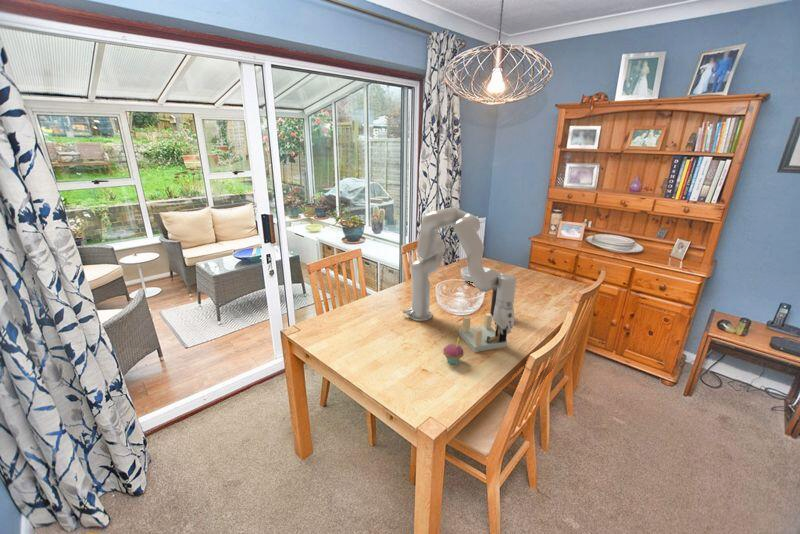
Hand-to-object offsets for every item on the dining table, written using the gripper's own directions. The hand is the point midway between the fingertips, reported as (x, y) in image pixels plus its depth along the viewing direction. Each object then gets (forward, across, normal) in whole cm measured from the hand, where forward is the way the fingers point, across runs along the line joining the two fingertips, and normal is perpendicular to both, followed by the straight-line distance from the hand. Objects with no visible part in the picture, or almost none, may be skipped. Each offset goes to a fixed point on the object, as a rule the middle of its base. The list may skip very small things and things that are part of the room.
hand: (500, 338), depth 159 cm
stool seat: (+3, +6, +6) cm, 9 cm away
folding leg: (+1, 0, +3) cm, 3 cm away
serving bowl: (+4, +73, -26) cm, 77 cm away
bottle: (+4, +27, -14) cm, 30 cm away
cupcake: (+4, -6, +26) cm, 26 cm away
